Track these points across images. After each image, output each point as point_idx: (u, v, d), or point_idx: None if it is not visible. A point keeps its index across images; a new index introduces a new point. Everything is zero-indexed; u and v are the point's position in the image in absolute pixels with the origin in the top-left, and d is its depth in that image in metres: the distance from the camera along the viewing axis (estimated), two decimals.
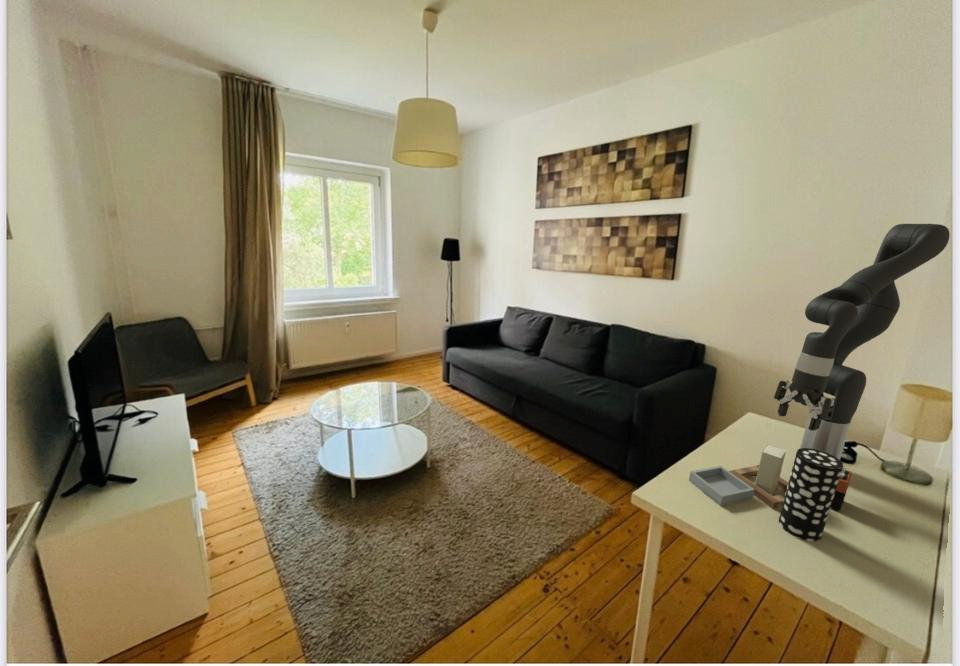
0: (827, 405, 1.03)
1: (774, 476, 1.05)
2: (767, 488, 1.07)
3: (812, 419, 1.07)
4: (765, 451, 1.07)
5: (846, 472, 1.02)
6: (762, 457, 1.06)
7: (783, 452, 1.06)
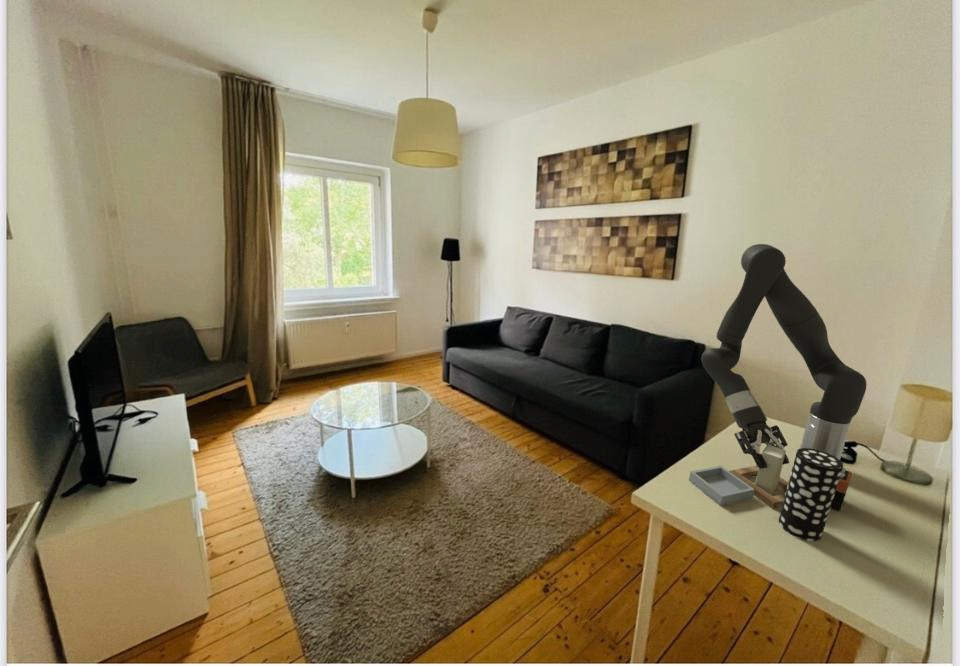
0: None
1: (774, 476, 1.05)
2: (767, 487, 1.07)
3: None
4: (765, 451, 1.06)
5: (846, 472, 1.02)
6: None
7: (783, 452, 1.06)
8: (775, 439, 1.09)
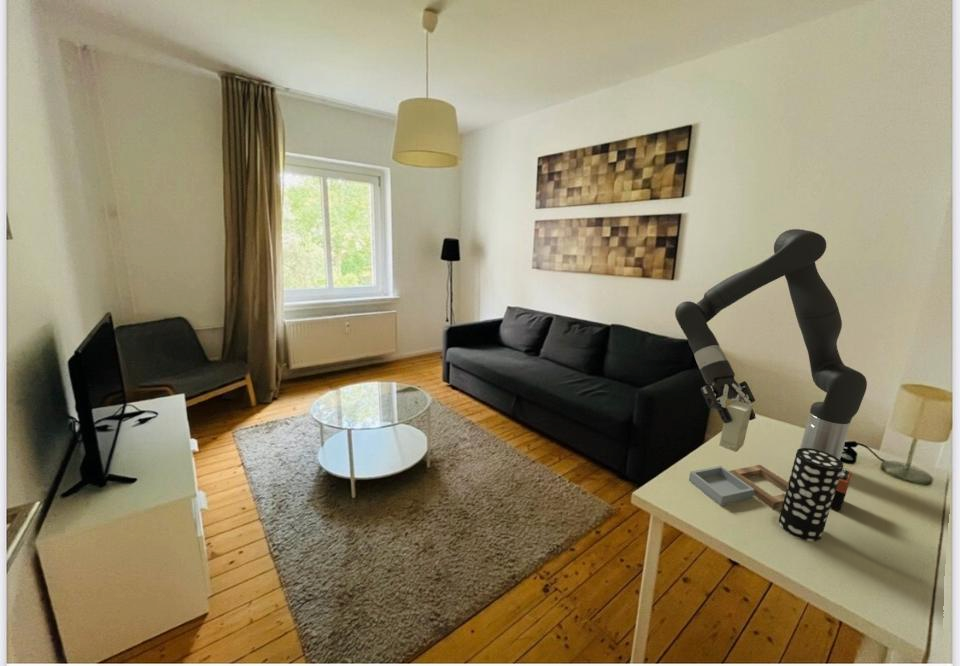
0: None
1: (739, 430, 1.01)
2: (731, 443, 1.03)
3: None
4: (731, 405, 1.03)
5: (846, 472, 1.03)
6: None
7: (749, 406, 1.02)
8: (742, 395, 1.05)
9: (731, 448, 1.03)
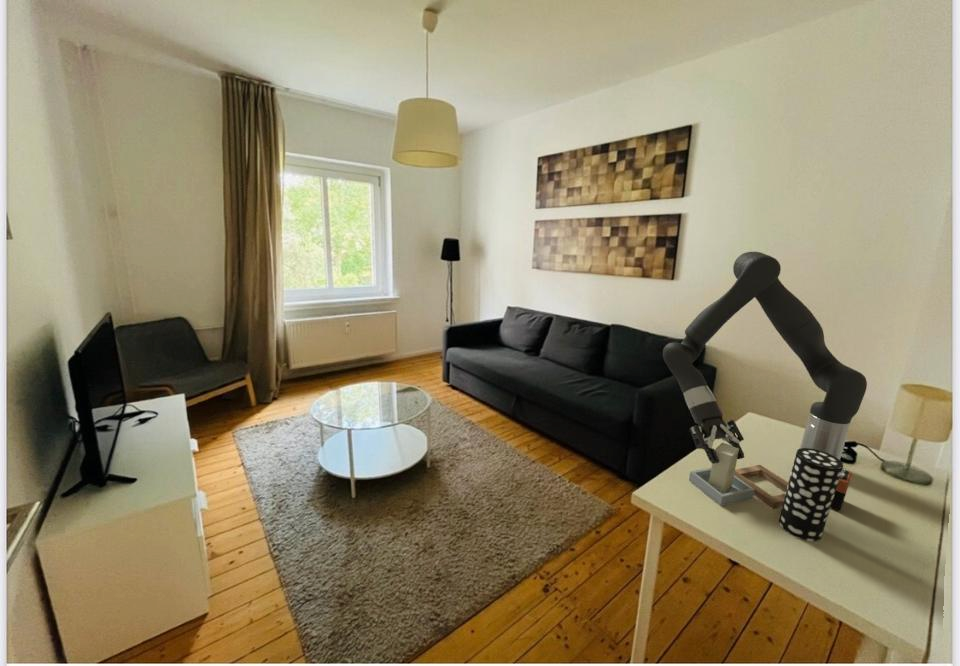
0: None
1: (726, 474, 1.05)
2: (719, 486, 1.06)
3: None
4: (718, 449, 1.06)
5: (846, 472, 1.02)
6: None
7: (736, 450, 1.06)
8: (731, 434, 1.08)
9: (719, 491, 1.07)
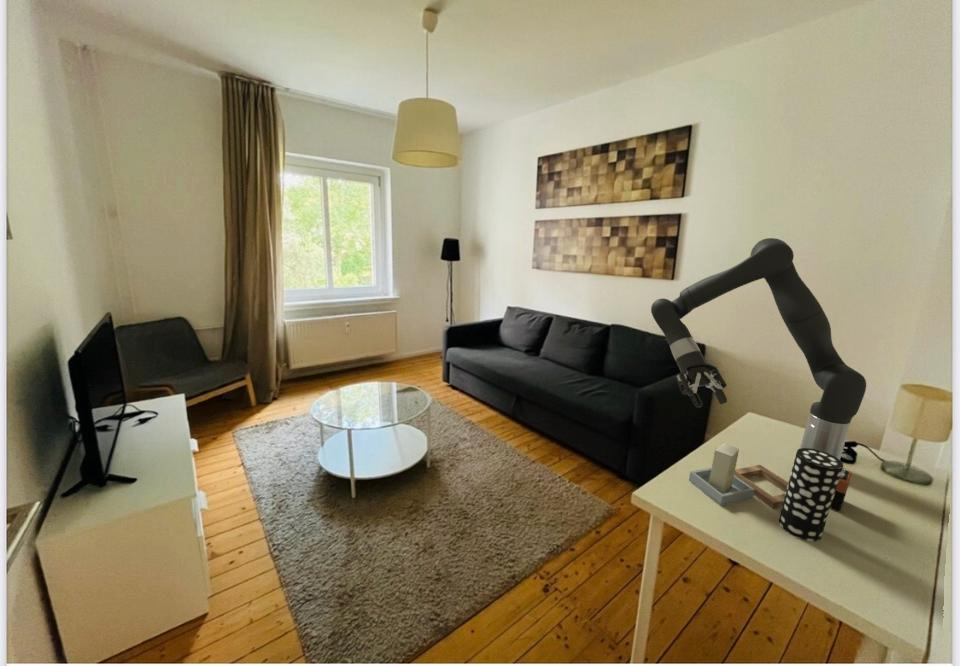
0: None
1: (726, 474, 1.05)
2: (719, 486, 1.06)
3: None
4: (718, 449, 1.06)
5: (846, 472, 1.02)
6: (715, 455, 1.06)
7: (736, 450, 1.06)
8: (714, 381, 1.15)
9: (719, 491, 1.07)
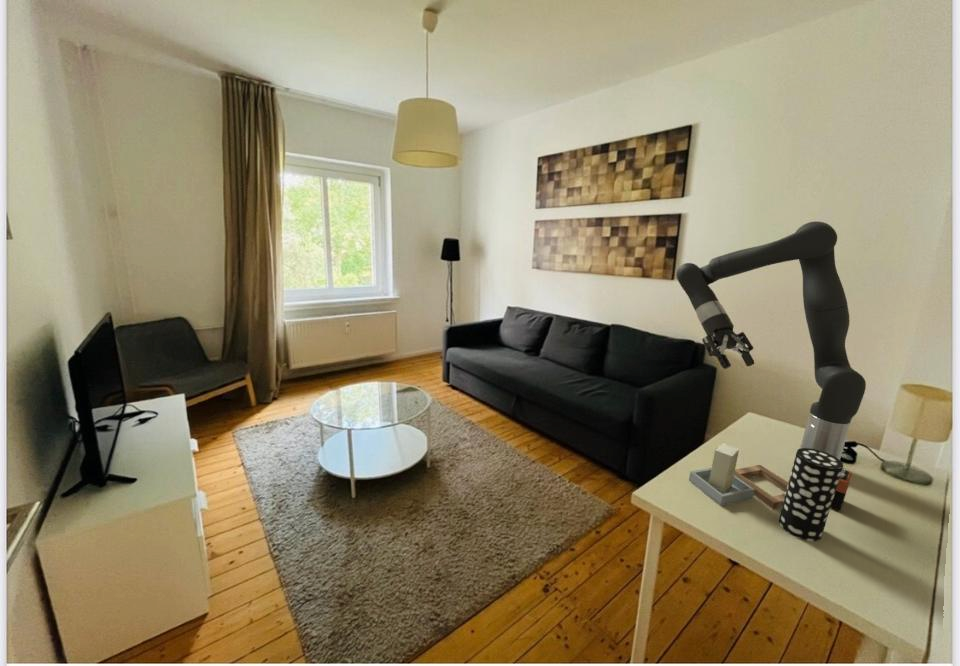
0: None
1: (726, 474, 1.05)
2: (719, 486, 1.06)
3: None
4: (718, 449, 1.06)
5: (846, 472, 1.02)
6: (715, 455, 1.06)
7: (736, 450, 1.06)
8: (741, 343, 1.14)
9: (719, 491, 1.07)
